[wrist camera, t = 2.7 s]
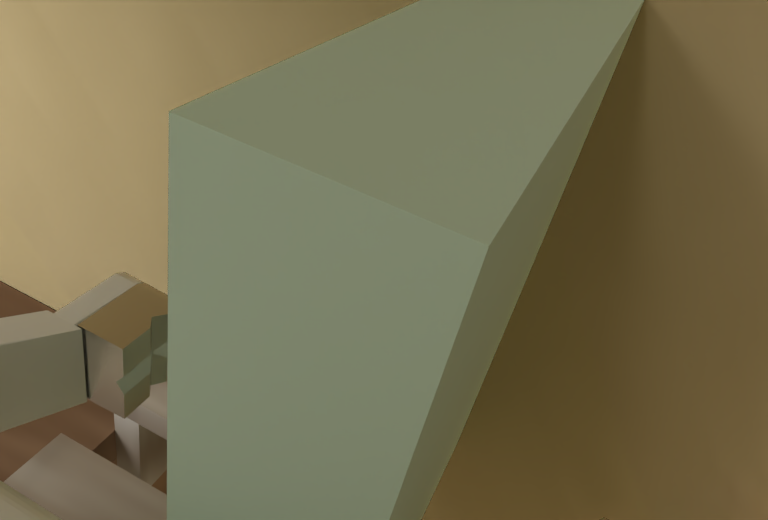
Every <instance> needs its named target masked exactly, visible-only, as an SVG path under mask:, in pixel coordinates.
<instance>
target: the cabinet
mask: <svg viewBox="0 0 768 520" xmlns="http://www.w3.org/2000/svg"><path fill="white" fill-rule="evenodd" d="M45 310H48V311H50V312H52V313H55V312H56V311H55V310H53V309H51V308H49V307H48V306H46V305H44V304H42V303H40V302H38V301H36V300H34V299H33V298H31V297H29V296H27V295H25V294H23V293H21V292H19V291H17V290H16V289H14V288H12V287H10V286H8V285H6V284H4V283H2V282H1V281H0V318H4V317H10V316H16V315H22V314H27V313H33V312H39V311H45ZM0 480H1V481H2V482H4V483H5V484H7V485H8V486H10V487H12V488H13V489H15V490H16V491H18V492H19V493H21V494H23V495H24V496H26V497H27V498H29V499H31V500H32V501H34V502H35V503H37V504H38V505H40V506H42V507H43V508H45V509H46V510H48V511H49V512H51V513H53V514H54V515H56V516H57V517H59V518H61V519H62V520H167V381H166V382H163V383H159V384H155V385H151V391H150V397H149V398H147V399H146V400H145V401H144V402H143V403H142V404H141V405H140V406H138V407H137V408H136V409H135V410H134V411H133V412H132V413H131V414H130V415H128V416H127V417H126V418H125V419H124V418H122V417H120V416H118V415H116V414H114V413H112V412H111V411H109V410H107V409H105V408H103V407H101V406H99V405H97V404H96V403H94V402H92V401H90V400H88V399H87V402H85V403H82V404H79V405H77V406H74V407H71V408H68V409H65V410H62V411H59V412H57V413H54V414H51V415H48V416H45V417H42V418H39V419H36V420H34V421H31V422H28V423H25V424H22V425H19V426H16V427H14V428H11V429H8V430H5V431H2V432H0Z"/></svg>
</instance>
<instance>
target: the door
mask: <svg viewBox="0 0 768 520" xmlns="http://www.w3.org/2000/svg"><path fill="white" fill-rule="evenodd" d="M643 2H644V0H419V1H417V2H415V3H413V4H410V5H408V6H406V7H404V8H401V9H399V10H397V11H395V12H392V13H390V14H388V15H385V16H383V17H381V18H379V19H376V20H374V21H372V22H370V23H367V24H365V25H363V26H361V27H358V28H356V29H354V30H352V31H349V32H347V33H345V34H343V35H340V36H338V37H336V38H334V39H331V40H329V41H327V42H324V43H322V44H320V45H318V46H315V47H313V48H311V49H309V50H306V51H304V52H302V53H300V54H297V55H295V56H293V57H291V58H288V59H286V60H284V61H282V62H279V63H277V64H275V65H273V66H270V67H268V68H266V69H263V70H261V71H259V72H257V73H254V74H252V75H250V76H248V77H245V78H243V79H241V80H239V81H236V82H234V83H232V84H230V85H227V86H225V87H223V88H221V89H218V90H216V91H214V92H212V93H209V94H207V95H205V96H202V97H200V98H198V99H196V100H193V101H191V102H189V103H187V104H184V105H182V106H180V107H178V108H175V109H173V110H171V111H169V184H168V364H167V520H421V519H422V517H423V515H424V513H425V511H426V509H427V507H428V504H429V502H430V500H431V498H432V496H433V494H434V492H435V490H436V487H437V485H438V483H439V481H440V479H441V477H442V475H443V473H444V470H445V468H446V466H447V464H448V462H449V460H450V458H451V455H452V453H453V451H454V449H455V447H456V445H457V443H458V440H459V438H460V436H461V433H462V431H463V429H464V426H465V424H466V421H467V419H468V417H469V414H470V412H471V410H472V407H473V405H474V403H475V400H476V398H477V395H478V393H479V391H480V388H481V386H482V384H483V381H484V379H485V376H486V374H487V372H488V369H489V367H490V365H491V362H492V360H493V358H494V355H495V353H496V350H497V348H498V346H499V343H500V341H501V339H502V336H503V334H504V331H505V329H506V327H507V324H508V322H509V320H510V317H511V315H512V313H513V310H514V308H515V305H516V303H517V301H518V298H519V296H520V294H521V291H522V289H523V287H524V284H525V282H526V279H527V277H528V275H529V272H530V270H531V268H532V265H533V263H534V260H535V258H536V256H537V253H538V251H539V249H540V246H541V244H542V242H543V239H544V237H545V234H546V232H547V230H548V227H549V225H550V223H551V220H552V218H553V215H554V213H555V211H556V208H557V206H558V204H559V201H560V199H561V197H562V194H563V192H564V189H565V187H566V185H567V182H568V180H569V178H570V175H571V173H572V170H573V168H574V166H575V163H576V161H577V159H578V156H579V154H580V152H581V149H582V147H583V144H584V142H585V140H586V137H587V135H588V133H589V130H590V128H591V126H592V123H593V121H594V118H595V116H596V114H597V111H598V109H599V107H600V104H601V102H602V99H603V97H604V95H605V92H606V90H607V88H608V85H609V83H610V81H611V78H612V76H613V73H614V71H615V69H616V66H617V64H618V62H619V59H620V57H621V54H622V52H623V50H624V47H625V45H626V43H627V40H628V38H629V36H630V33H631V31H632V28H633V26H634V24H635V21H636V19H637V17H638V14H639V12H640V10H641V7H642V5H643Z"/></svg>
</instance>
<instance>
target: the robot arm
mask: <svg viewBox="0 0 768 520" xmlns="http://www.w3.org/2000/svg"><path fill="white" fill-rule="evenodd" d="M167 364H168V295H166V294H165V293H163V292H161V291H159V290H157V289H155V288H154V287H152V286H150V285H148V284H146V283H144V282H142V281H140V280H138V279H136V278H134V277H133V276H131V275H129V274H127V273H125V272H122V273H116V274H114V275H112V276H111V277H109V278H107V279H106V280H104V281H103V282H101V283H100V284H98V285H97V286H95V287H94V288H92V289H90V290H89V291H87V292H86V293H84V294H83V295H81V296H80V297H78V298H76V299H75V300H73V301H72V302H70V303H69V304H67V305H66V306H64V307H62V308H61V309H59V310H58V311H56V312H55V313H52V312H50V311H48V310H45V311H39V312H33V313H27V314H22V315H16V316H10V317H4V318H0V432H2V431H5V430H8V429H11V428H14V427H16V426H19V425H22V424H25V423H28V422H31V421H34V420H36V419H39V418H42V417H45V416H48V415H51V414H54V413H57V412H59V411H62V410H65V409H68V408H71V407H74V406H77V405H79V404H82V403H85V402H87V399H88V400H90V401H92V402H94V403H96V404H97V405H99V406H101V407H103V408H105V409H107V410H109V411H111V412H112V413H114V414H116V415H118V416H120V417H122V418H124V419H125V418H126V417H127V416H128V415H130V414H131V413H132V412H133V411H134V410H135V409H136V408H137V407H138V406H140V405H141V404H142V403H143V402H144V401H145V400H146V399H147V398H149V397H150V391H151V385H155V384H159V383H163V382H166V381H167ZM0 520H62V519H61V518H59V517H57V516H56V515H54V514H53V513H51V512H49V511H48V510H46V509H45V508H43V507H42V506H40V505H38V504H37V503H35V502H34V501H32V500H31V499H29V498H27V497H26V496H24V495H23V494H21V493H19V492H18V491H16V490H15V489H13V488H12V487H10V486H8V485H7V484H5V483H4V482H2V481H1V480H0ZM600 520H609V519H607V518H605V517H603V518H602V519H600Z"/></svg>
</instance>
